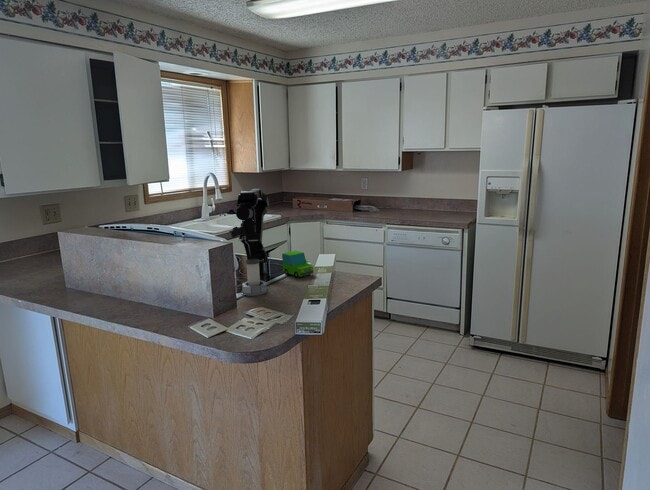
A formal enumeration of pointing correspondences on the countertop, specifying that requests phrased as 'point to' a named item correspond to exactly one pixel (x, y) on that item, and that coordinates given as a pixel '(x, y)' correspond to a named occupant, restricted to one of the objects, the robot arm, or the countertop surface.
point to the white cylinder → (253, 272)
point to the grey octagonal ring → (254, 289)
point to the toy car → (296, 264)
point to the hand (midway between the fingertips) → (249, 256)
